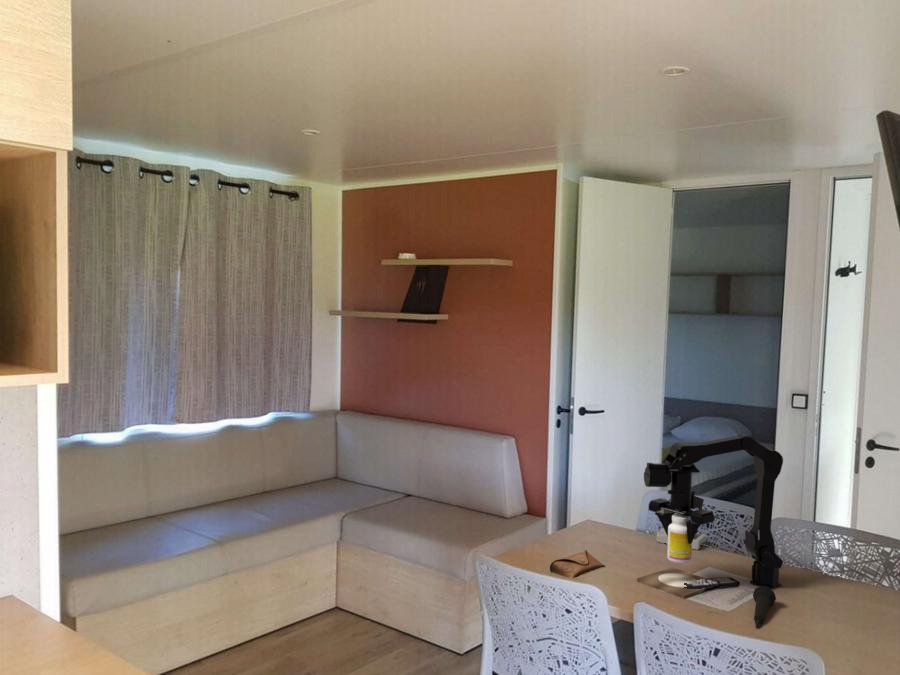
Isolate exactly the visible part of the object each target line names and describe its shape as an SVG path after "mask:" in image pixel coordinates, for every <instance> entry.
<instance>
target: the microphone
mask: <svg viewBox="0 0 900 675" xmlns="http://www.w3.org/2000/svg"><path fill="white" fill-rule="evenodd" d="M752 597H753V600H754V602H755V606H754V608H755V609H754V616H753V620H754V625H755V628H756V629H759V628H760V626H761V625H762V624H763V623H764V621H765V618H766V615H767V613H768V609H769V607H771V606H774V604H775V602H776V600H777V597H776V594H775V591H774V590H772V589H770V588H769V587H766V586H758V587H756V588H754V590H753V593H752Z"/></svg>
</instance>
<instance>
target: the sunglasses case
mask: <svg viewBox="0 0 900 675" xmlns="http://www.w3.org/2000/svg"><path fill="white" fill-rule="evenodd" d="M603 567H604V568H605V567H606V565H605V564H603V563H601V561H599V560H598V559H597V558H596V557H595V556H593V555H592V554H591V553H589V551H588V550H587V549H586V550H584V551H581V552H579V553H574V554H572V555H568V556H565V557H563V558H559V559H556V560H554V561H552V562H551V563H550V566H549V571H550V573H553V574H556V575H559V576H562V577H565V578H569V579H574V578H576V577H578V576H581V575H583V574H586V573H588V572H591V571H593V570H597V569H600V568H603Z"/></svg>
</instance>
